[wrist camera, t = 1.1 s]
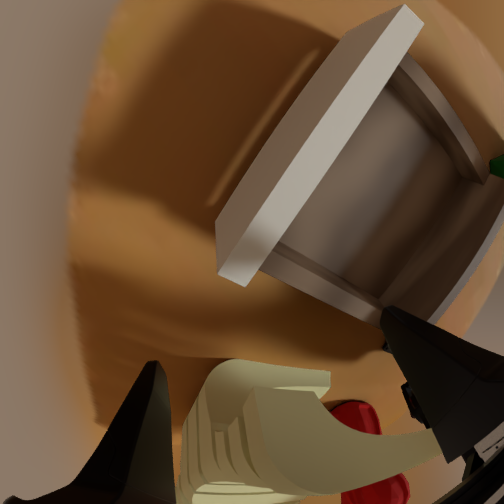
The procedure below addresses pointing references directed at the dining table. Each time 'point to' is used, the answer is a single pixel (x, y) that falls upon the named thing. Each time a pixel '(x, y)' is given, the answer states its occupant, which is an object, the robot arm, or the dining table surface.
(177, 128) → the dining table surface
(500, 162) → the milk carton
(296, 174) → the panel
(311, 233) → the brown open box
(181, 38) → the dining table surface
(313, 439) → the slatted curved stool
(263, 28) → the dining table surface
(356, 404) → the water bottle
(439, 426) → the robot arm
